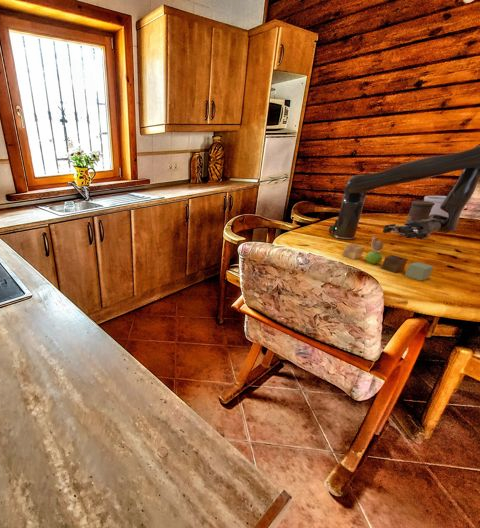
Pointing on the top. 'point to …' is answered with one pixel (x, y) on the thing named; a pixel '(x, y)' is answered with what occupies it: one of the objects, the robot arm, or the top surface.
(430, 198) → the utensil holder
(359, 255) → the mauve cube
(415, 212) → the container
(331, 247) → the top surface
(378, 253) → the snail figurine
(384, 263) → the walnut block
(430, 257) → the top surface
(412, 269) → the sage block
